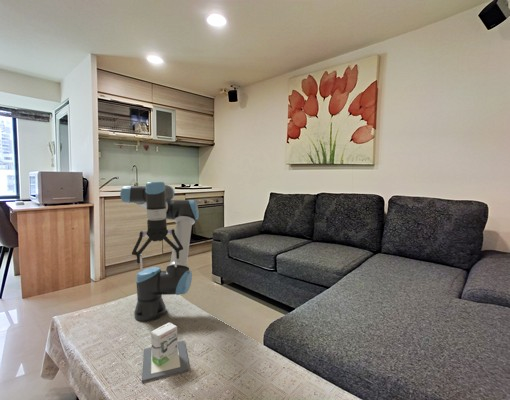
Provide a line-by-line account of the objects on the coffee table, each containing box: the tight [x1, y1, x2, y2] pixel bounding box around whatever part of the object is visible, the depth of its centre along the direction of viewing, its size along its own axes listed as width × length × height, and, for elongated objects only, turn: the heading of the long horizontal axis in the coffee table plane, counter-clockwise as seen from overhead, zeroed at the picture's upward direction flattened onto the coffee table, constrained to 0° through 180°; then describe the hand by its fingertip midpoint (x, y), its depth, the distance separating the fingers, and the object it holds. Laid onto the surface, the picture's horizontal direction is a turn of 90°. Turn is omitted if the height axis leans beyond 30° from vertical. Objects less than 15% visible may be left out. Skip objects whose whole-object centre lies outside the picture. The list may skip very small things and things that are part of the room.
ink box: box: [150, 322, 179, 366], centre depth 103 cm, size 9×5×12 cm, turn 143°
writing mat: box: [141, 340, 190, 383], centre depth 104 cm, size 18×16×1 cm
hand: (159, 268), depth 115 cm, fingers open, 13 cm apart
